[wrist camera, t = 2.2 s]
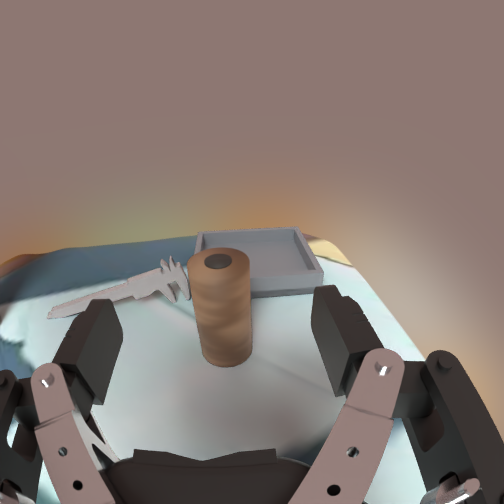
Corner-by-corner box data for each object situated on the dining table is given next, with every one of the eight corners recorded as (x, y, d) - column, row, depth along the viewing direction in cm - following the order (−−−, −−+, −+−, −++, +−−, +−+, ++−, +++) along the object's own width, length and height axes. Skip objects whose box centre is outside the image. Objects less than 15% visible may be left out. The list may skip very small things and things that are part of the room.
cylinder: (201, 368, 25) (183, 279, 20) (203, 332, 29) (189, 247, 25) (254, 365, 25) (252, 275, 21) (249, 329, 30) (247, 244, 25)
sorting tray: (192, 301, 34) (189, 281, 33) (200, 248, 46) (198, 231, 45) (321, 292, 35) (324, 272, 34) (296, 243, 48) (297, 226, 46)
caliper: (189, 296, 36) (183, 253, 33) (190, 301, 35) (183, 257, 32) (49, 315, 31) (32, 277, 28) (47, 320, 30) (29, 281, 27)
